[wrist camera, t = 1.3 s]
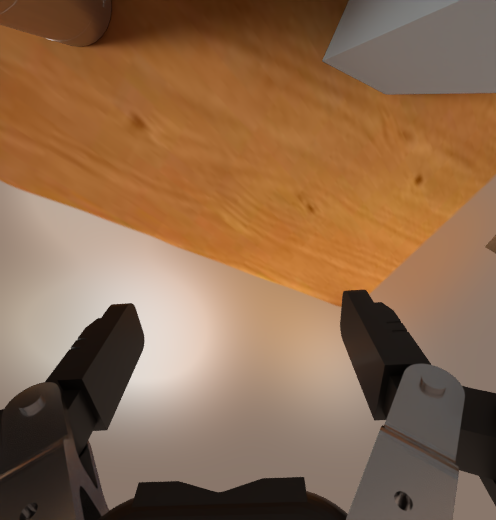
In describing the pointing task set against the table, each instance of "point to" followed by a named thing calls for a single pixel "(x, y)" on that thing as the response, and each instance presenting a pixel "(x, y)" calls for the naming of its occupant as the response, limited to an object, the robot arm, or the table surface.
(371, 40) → the stand
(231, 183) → the table surface
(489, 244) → the walnut bar
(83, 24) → the robot arm
